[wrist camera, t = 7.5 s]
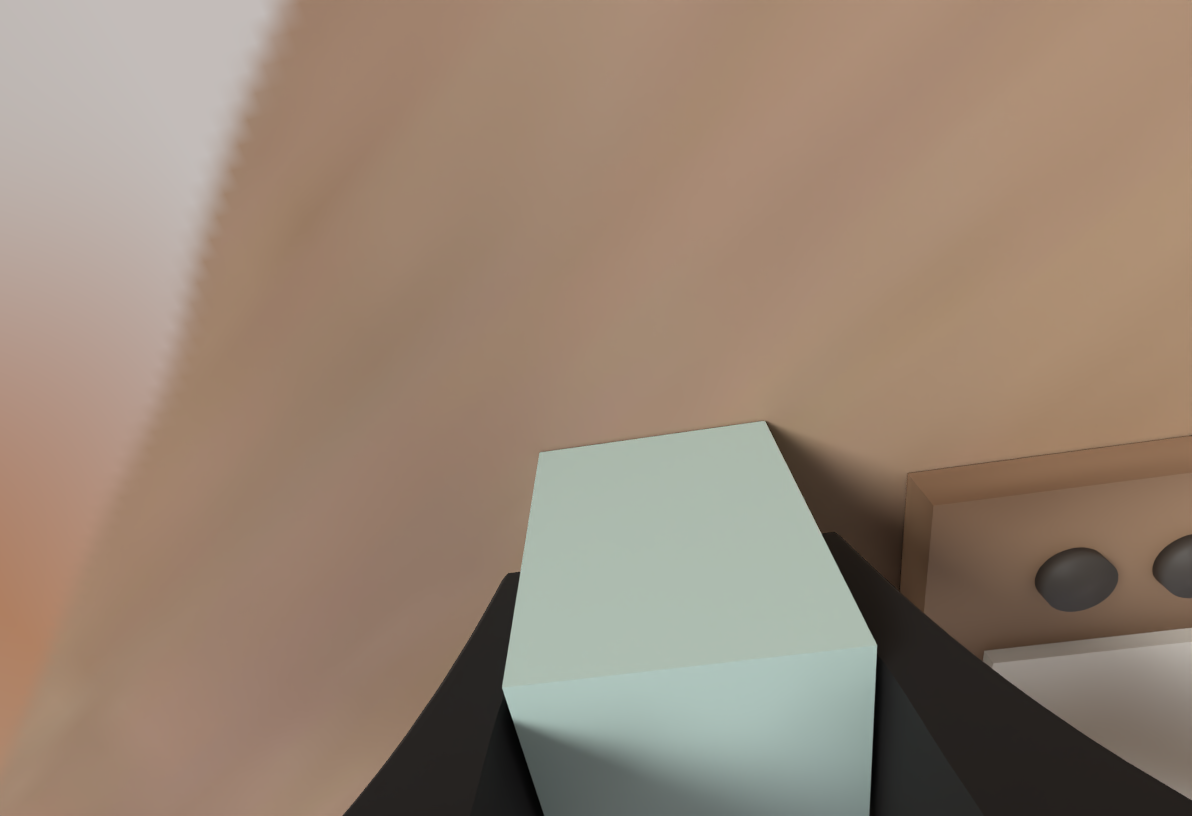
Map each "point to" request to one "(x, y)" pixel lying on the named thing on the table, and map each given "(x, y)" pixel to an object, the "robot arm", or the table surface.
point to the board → (1070, 586)
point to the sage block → (687, 637)
